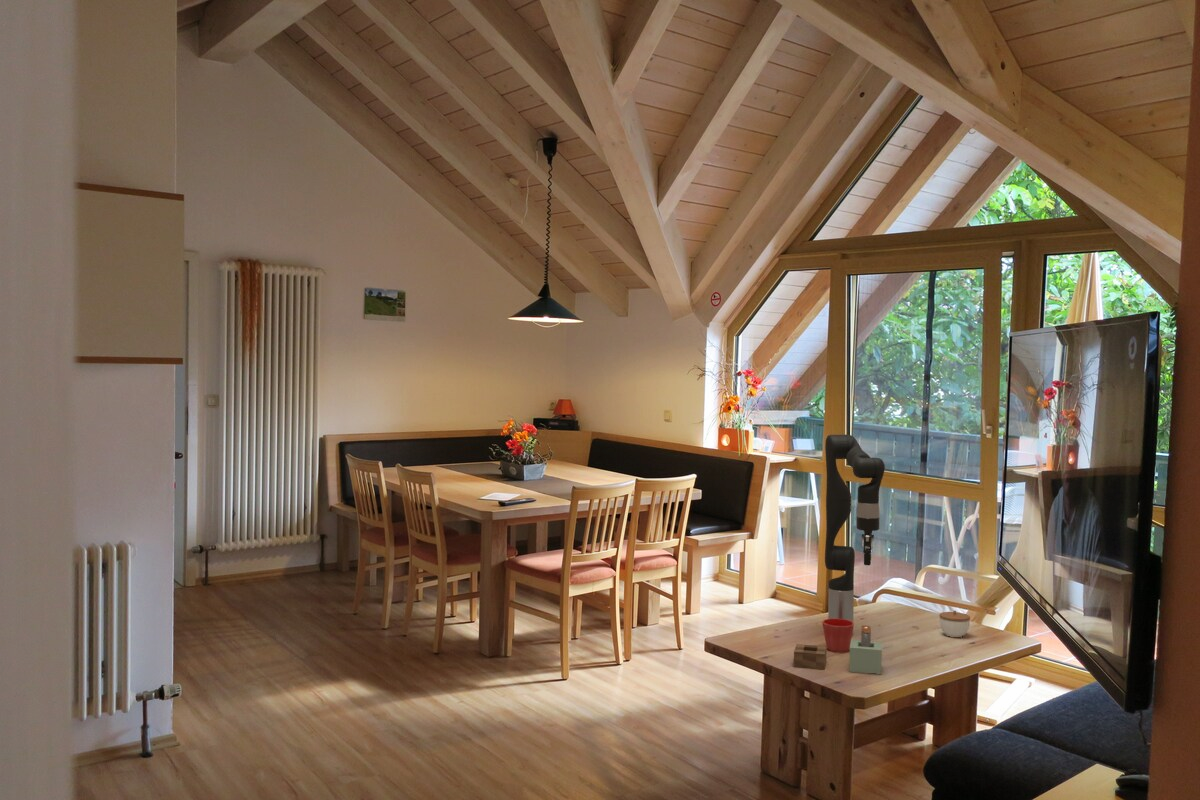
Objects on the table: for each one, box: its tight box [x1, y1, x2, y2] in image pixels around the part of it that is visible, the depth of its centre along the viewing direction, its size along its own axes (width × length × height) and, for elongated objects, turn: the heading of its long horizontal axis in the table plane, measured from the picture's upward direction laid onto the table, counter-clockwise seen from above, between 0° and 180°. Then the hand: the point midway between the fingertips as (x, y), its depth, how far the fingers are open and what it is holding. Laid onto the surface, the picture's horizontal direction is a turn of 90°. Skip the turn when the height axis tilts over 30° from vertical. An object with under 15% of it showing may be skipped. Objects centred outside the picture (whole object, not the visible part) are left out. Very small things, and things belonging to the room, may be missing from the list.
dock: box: [849, 639, 883, 675], centre depth 314 cm, size 10×10×8 cm
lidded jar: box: [939, 610, 971, 638], centre depth 356 cm, size 11×11×9 cm
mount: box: [793, 643, 828, 670], centre depth 319 cm, size 10×10×5 cm
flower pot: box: [822, 618, 854, 653], centre depth 337 cm, size 11×11×10 cm
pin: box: [860, 625, 872, 647], centre depth 314 cm, size 3×3×14 cm
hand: (867, 562), depth 325 cm, fingers open, 8 cm apart
